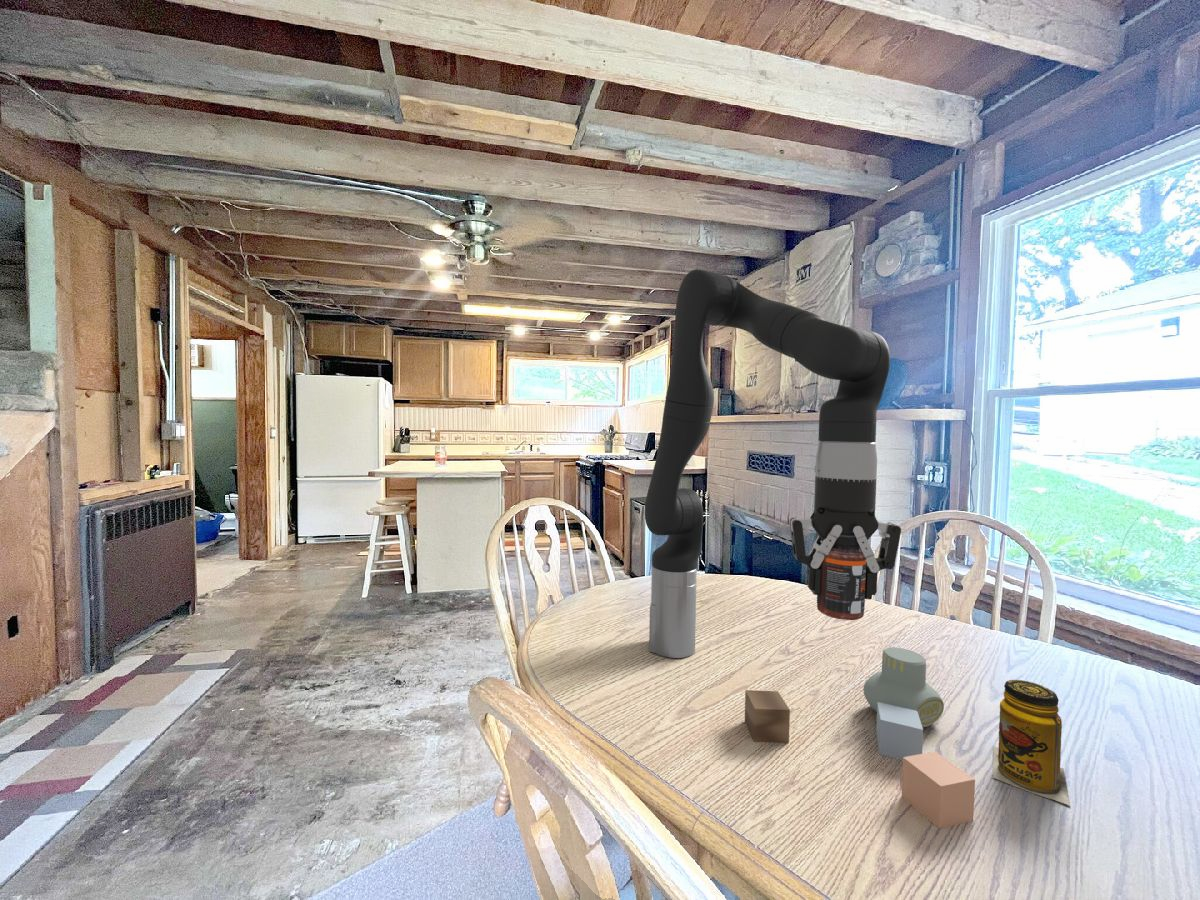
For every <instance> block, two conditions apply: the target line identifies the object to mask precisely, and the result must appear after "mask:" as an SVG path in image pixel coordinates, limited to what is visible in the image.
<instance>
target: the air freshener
mask: <svg viewBox="0 0 1200 900" xmlns="http://www.w3.org/2000/svg"><path fill="white" fill-rule="evenodd" d="M926 675H927V660H926V659H925V658H924V656H922V655H921V654H920V653H918V652H916V651H913V650H910V649H907V648H903V647H894V646H892V647H886V648H885V649H883V650H882V657H881V671H879V672H876V673H874V674H872V675H870V676H869V678H867V679H866V680H865V683H864V685H863V695H864V698H865V701H866V702H867V703H868V704H869V706H870V707H871V708H872V709H873V710H874V711H875V712H876V713H877V702H880V703H884V704H889V705H893V706H898V707H902V708H907V709H911V710H916V711H917V712H918V715H919V718H920V721H921V724H922V728H926V727H929V726H932V725H934V724H936V722H937V721H938V720H939V719H940V718H941V717H942V715H943V714H944V709H945V703H944V700H943V698H942V697H941V695H940V693H938V692H937V691H936V689H935V688H934V687H933V686H931V685H930V684H928V683H927V682H926V680H927V676H926Z"/></svg>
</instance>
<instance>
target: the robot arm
mask: <svg viewBox="0 0 1200 900" xmlns="http://www.w3.org/2000/svg"><path fill="white" fill-rule="evenodd" d="M705 325H707V326H714V327H716V326H717V327H718V326H721V327H722V326H723V327H728V328H729V327H730V328H733V329H740V330H743V331H745V332H748V333H749V334H751V335H752V336H753V337H754V338H755V340H757V341H758V342H760V343H761V344H762V345H764V346H765V347H767V348H769V349H770V350H771V349H772V350H773V351H775V352H778V353H779V354H782V355H784V356H786V357H789V358H791V359H794V360H795V361H796V362H797V363H799V364H800V365H801V366H802V367H804V368H805V369H807V370H808V371H810V372H812V373H814V374H815V375H818V376H821V377H823V378H826V379H829V380H835V381H837V380H838V381H839V384H838V388H837V392H836V394H835V397H834V398H831V399H829V400H826V401H824V402H823V403H822V404H821V406H820V411H819V417H818V443H817V449H816V450H817V451H816V456H815V465H814V473H815V474H814V475H815V477H814V503H813V504H814V505H813V513H811V515H810V517H809V518H808V517H807V518H797V517H791V518H790V519H789V526H790V527H789V528H790V536H791V545H792V554H793V557H794V559H796V561H797V562H798V563H800V564H804V565H806V586H807V588H808V589H809V591H811V593H812V594H813V595H814V596H817V595H820V581H821V569H820V568H819V566H820V565H821V563H822V561H823V559H824V556H825V555H828V553H829V552H830V550H831V548H832V546H833V545H834V543H835V541H836V539H837V538H838V537H839V535H854V536H855V538H856V540H857V543H858V545H857V546H858V548H860V549H861V552H862V553H863V555H864V556H865V558H866V583H865V600H872V598H873V596H876V594H877V592H878V574H879V572H880V571H882V570H885V569H886V570H892V569H893V568H895V563H896V559H897V554H898V549H899V544H900V539H901V535H902V534H901V533H902V528H901V527H900V526H899V525H897V524H895V523H893V522H881V521H878V519H877V517H876V503H877V502H876V500H877V497H876V496H877V479H878V478H877V477H878V474H877V473H878V470H877V469H878V456H877V455H878V454H877V444H876V439H877V411H878V408H879V405H880V402H881V400H882V396H883V393H884V391H885V386H886V383H887V381H888V377H889V371H890V367H891V353H890V348H889V345H888V343H887V341H886V340H885V338H884V337H883V336H882V335H880V334H879V333H877V332H875V331H871V330H864V329H860V328H854V327H851V326H846V325H842V324H837V323H834V322H830V321H828V320H825V319H824V318H823V317H822V316H820V315H818V314H816V313H813V312H811V311H809V310H805V309H802V308H799V307H796V306H793V305H791V304H787V303H784V302H780V301H776V300H771V299H770V298H769V299H768V298H765V297H764V296H761V295H759V294H757V293H755V292H753V291H752V290H750V289H749V288H748V287H746V286H745V285H743V284H742V283H740V282H739V281H737V280H735V279H734V278H732V277H730V276H728V275H725V274H721V273H717V272H712V271H710V270H709V271H708V270H705V269H699V268H698V269H693V270H690V271H689V272H688V273H686V275H685V276H684V277H683V279H682V281H681V284H680V285H679V287H678V292H677V297H676V305H675V316H674V333H673V347H672V355H671V365H670V373H669V379H668V384H667V390H666V395H665V401H664V406H663V407H664V408H663V413H662V422H661V429H660V434H659V435H660V436H659V441H658V447H657V451H656V452H657V453H656V457H655V462H654V466H653V470H652V474H651V478H650V482H649V486H648V490H647V493H646V498H645V503H644V520H645V524H646V527H647V528H648V530H649V532H650V533H652V534H653V535H656V536H668V538H667V539H666V540H665V542H664V543H663V544H661V545H660V546H658V547H657V548H656V549H655V550H653V552H652V555H651V586H650V587H651V589H650V590H651V591H650V592H651V593H650V594H651V595H650V604H649V626H648V627H649V628H648V629H649V631H648V634H649V635H648V641H649V642H648V652H649V653H654V654H657V655H659V656H661V657H666V658H670V659H681V658H682V659H683V658H688V657H690V656H692V655H694V654H695V651H696V630H697V629H696V624H697V623H696V621H697V620H696V619H697V618H696V617H697V615H696V614H697V579H698V578H697V573H698V568H697V567H698V561H699V560H698V559H699V558H700V555H701V552H702V543H703V542H702V541H703V528H704V507H703V503H702V499H701V497H700V496H699V494H698V493H697V492H696V491H695V490H693V489H691V488H687V487H686V488H683V487H682V488H680V482H681V479H682V476H683V473H684V470H685V468H686V466H687V465H688V463H689V461H690V460H691V458H692V457H693V456H694V454H695V453H696V451H697V450H698V448H699V447H700V445H701V444H702V443H703V441H704V440H705V438H706V436H707V433H708V431H709V429H710V424H711V420H712V414H713V409H714V402H715V392H714V387H713V384H712V380H711V377H710V374H709V372H708V368H707V365H706V362H705V357H704V352H703V350H704V349H703V342H704V334H705V333H704V331H705ZM810 527H812V528H813V530H814V532H816V534H817V535H818V536H817V537H816V539H815V540H814V542H813V545H812V548H811V550H810V552H809V553H808V554H807V553H806V546H805V537H804V535H806V534H808V531H809V528H810ZM876 531H878V536H879V537H881V541H880V546H879V551H878V556H877V557H875V553H874V551H873V549H872V547H871V544H870V542H869V541H868V540H870V539H871V537H872V536H873V535H874V534H875V533H876Z"/></svg>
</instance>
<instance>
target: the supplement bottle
mask: <svg viewBox="0 0 1200 900" xmlns="http://www.w3.org/2000/svg"><path fill="white" fill-rule="evenodd" d="M857 545H858V543H857V540H856V538H855V536H854V535H839V537H838V538H837V539H836V541H835V543H834V545H833V546H832V548H831V550H830V552H829V553H828V555H825V556H824V559H823V561H822V563H821V565H820V566H819V568H820V569H821V581H820V595H816V609H817V610H818V611H819V612H820V613H821V614H823V615H824V616H826V617H829V618H832V619H836V620H843V621H857V620H859V619H862V618H863V617H864V616H865V607H866V606H865V604H866V599H865V583H866V558H865V556H864V555H863V553H862V552H861V549H860V548H858V546H857Z"/></svg>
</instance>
